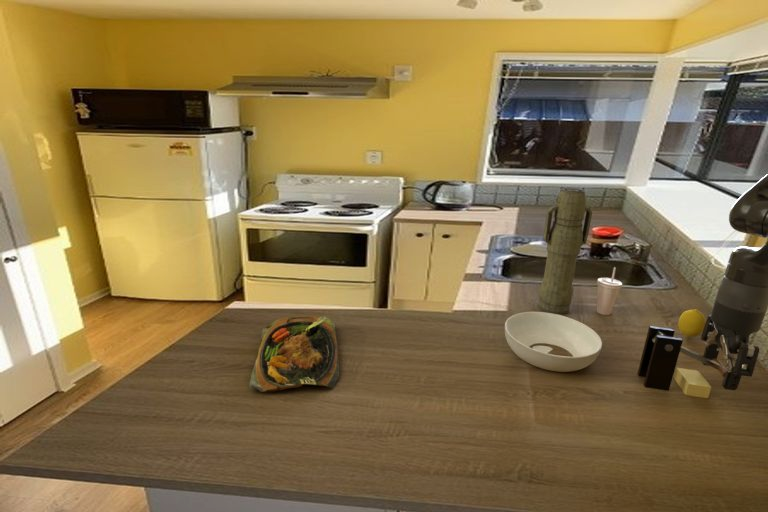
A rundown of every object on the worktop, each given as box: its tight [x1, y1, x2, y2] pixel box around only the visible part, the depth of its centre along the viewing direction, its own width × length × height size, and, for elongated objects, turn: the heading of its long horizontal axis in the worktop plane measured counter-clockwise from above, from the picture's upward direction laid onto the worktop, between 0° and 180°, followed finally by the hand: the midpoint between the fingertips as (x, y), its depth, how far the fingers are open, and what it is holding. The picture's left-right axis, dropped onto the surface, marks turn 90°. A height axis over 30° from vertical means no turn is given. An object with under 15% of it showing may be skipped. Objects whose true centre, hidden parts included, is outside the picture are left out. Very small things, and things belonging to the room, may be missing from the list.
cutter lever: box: [652, 331, 727, 378], centre depth 85 cm, size 14×5×2 cm, turn 75°
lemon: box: [677, 308, 706, 339], centre depth 109 cm, size 6×6×8 cm
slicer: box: [637, 325, 684, 392], centre depth 87 cm, size 8×9×13 cm
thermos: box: [537, 187, 593, 315], centre depth 120 cm, size 9×12×35 cm
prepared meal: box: [248, 316, 340, 393], centre depth 97 cm, size 28×4×18 cm
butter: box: [673, 367, 712, 399], centre depth 87 cm, size 6×9×4 cm, turn 166°
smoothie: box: [596, 266, 623, 316], centre depth 121 cm, size 6×6×14 cm
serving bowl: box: [504, 311, 603, 373], centre depth 98 cm, size 21×21×7 cm
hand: (717, 376), depth 85 cm, fingers open, 8 cm apart
